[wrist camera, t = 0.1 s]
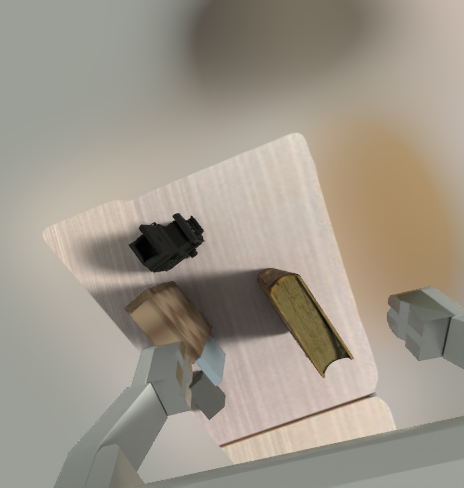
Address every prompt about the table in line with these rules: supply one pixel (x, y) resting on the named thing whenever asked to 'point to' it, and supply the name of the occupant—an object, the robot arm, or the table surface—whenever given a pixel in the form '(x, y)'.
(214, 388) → the block
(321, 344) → the book
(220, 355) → the door panel
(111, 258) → the table surface
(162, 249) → the camera
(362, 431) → the table surface
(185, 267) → the table surface
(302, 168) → the table surface
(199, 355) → the open wooden box
